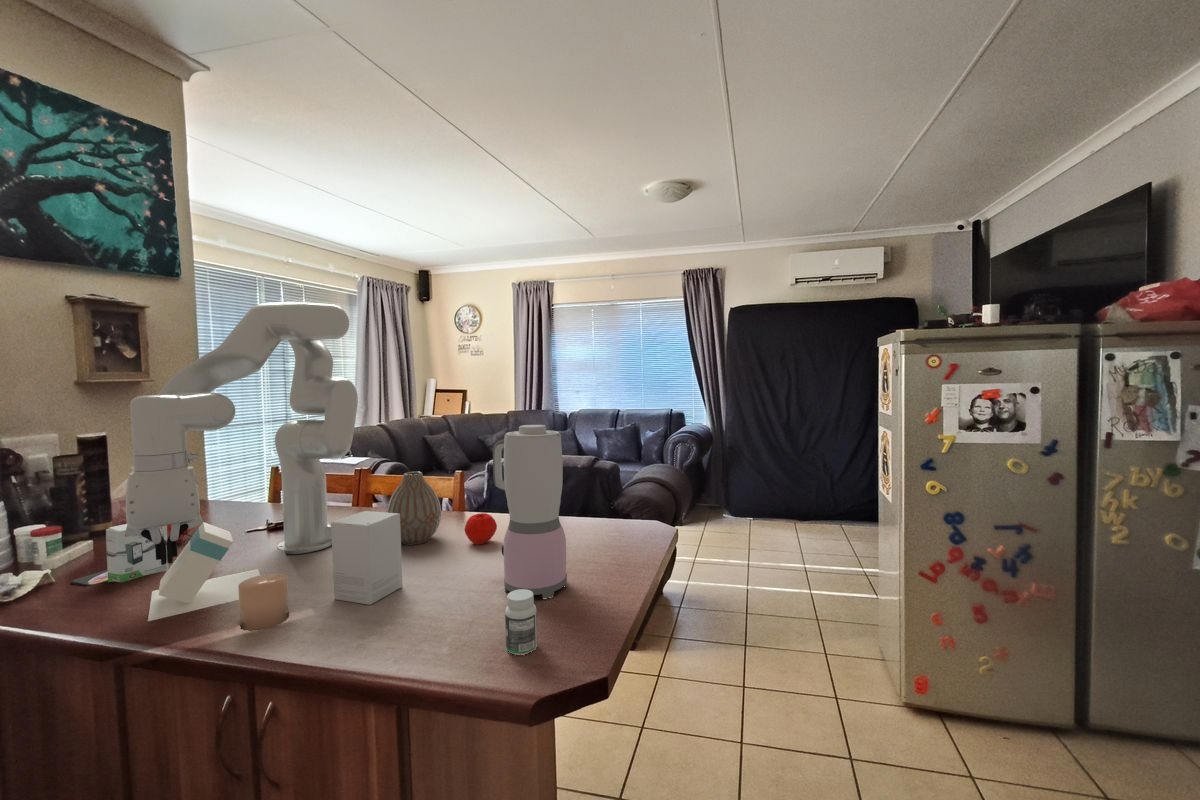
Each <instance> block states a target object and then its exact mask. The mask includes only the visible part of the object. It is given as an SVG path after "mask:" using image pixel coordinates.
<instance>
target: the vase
mask: <svg viewBox="0 0 1200 800" xmlns="http://www.w3.org/2000/svg"><path fill="white" fill-rule="evenodd" d="M441 509H442V508H441V503H440V499H439V497H438V495H437V492H435V489H433V487H432V486H431V485H430V484H429V483H428V482H427V481H426V479H425V477H424V476H423V472H422V471H409V472H405V473H403V477H402V479H401V482H400V483H399V485H398V486H397V487H396V488H395V490H394V491H393V493H392V494H391V496H390V498H389V500H388V503H387V507H386V513H398V514H400V529H401V545H407V546H412V545H420V544H423V543H426V542H428V541H429V540H430V539H431V538H432V537H433V536H434V534H435V533H436V532H437V530H438V528H439V525H440V523H441V518H442V510H441Z"/></svg>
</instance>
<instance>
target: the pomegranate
mask: <svg viewBox="0 0 1200 800" xmlns="http://www.w3.org/2000/svg"><path fill="white" fill-rule="evenodd" d="M180 524H182V523H180ZM190 531H191V528H190V529H187V530H186V531H185V532H184V533H183V534H182V535H181V536H180V537H179V538H178V539H177V544H180V543H181V542H183V541H184V538H185V536H188V537H190V538H192V536H193V535H191V534H189V533H190ZM170 532H171V525H167V540H168V536H169V535H170Z"/></svg>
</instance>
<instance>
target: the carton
mask: <svg viewBox="0 0 1200 800" xmlns="http://www.w3.org/2000/svg"><path fill="white" fill-rule="evenodd" d="M191 536H192V537H190V538H189V540H188V542H187V543H186V545H185V546H184V547H183V549H182V550H181V552H180V553H179V554H178V556H177V558H176V559H175V560H173V563H171V565H170V566H169V569H168V571H165V573H164V575H163V576H162V577H161V579H160V581H159V588H158V590H159V595H160V596H163V597H167V598H170V599H174V600H177V601H181V602H184V603H188V604H190V603H191V601H192V600H193V598H194V597H195V596H196V594H197V593H198V591H199V590H200V588H201V587H202V586H203V584H204V583H205V581H206V580H207V579H209V578H210V576H211V574H212V573H213V571H214V570H215V568H216V567H217V566H218V564H219V563H220V561H222V559H223V558H224V556H225V555H226V553H227V552H228V551H229V549H230V548H231V546H232V545H233V543H234V539H233V537H232V534H231V531H230V530H229V531H228V530H227V529H226V530H225V529H223V528H221V527H219V526H216V525H213V524H210V523H207V522H204V521H202V524H201V525H199V526H198V528H197V529H196V531H194V533H193V535H191Z"/></svg>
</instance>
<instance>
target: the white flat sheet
mask: <svg viewBox="0 0 1200 800" xmlns="http://www.w3.org/2000/svg"><path fill="white" fill-rule="evenodd" d="M260 575H261V573H260V571H259V569H258V568H256V569H252V570H247V571H242V572H238V573H233V574H232V573H231V574H227V575H223V576H218V577H212V578H207V580H206V581H205V583H204V584H203V586H202V587H201V588H200V590H199V591H198V593H197V594H196V596H195V597H194V598H193V600H192V601H191V603H190V604H188V603H184V602H181V601H177V600H174V599H170V598H167V597H163V596H160V595H159V589H156V590H155V589H154V590H151V595H150V603H149V612H148V618H147V622H153V621H156V620H159V619H160V620H161V619H164V618H168V617H172V616H176V615H181V614H185V613H189V612H193V611H198V610H201V609H207V608H211V607H216V606H219V605H223V604H228V603H233V602H235V601H239V589H238V586H239V584H240V583H241V582H243V581H245V580H247V579H250V578H252V577H256V576H260Z"/></svg>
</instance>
